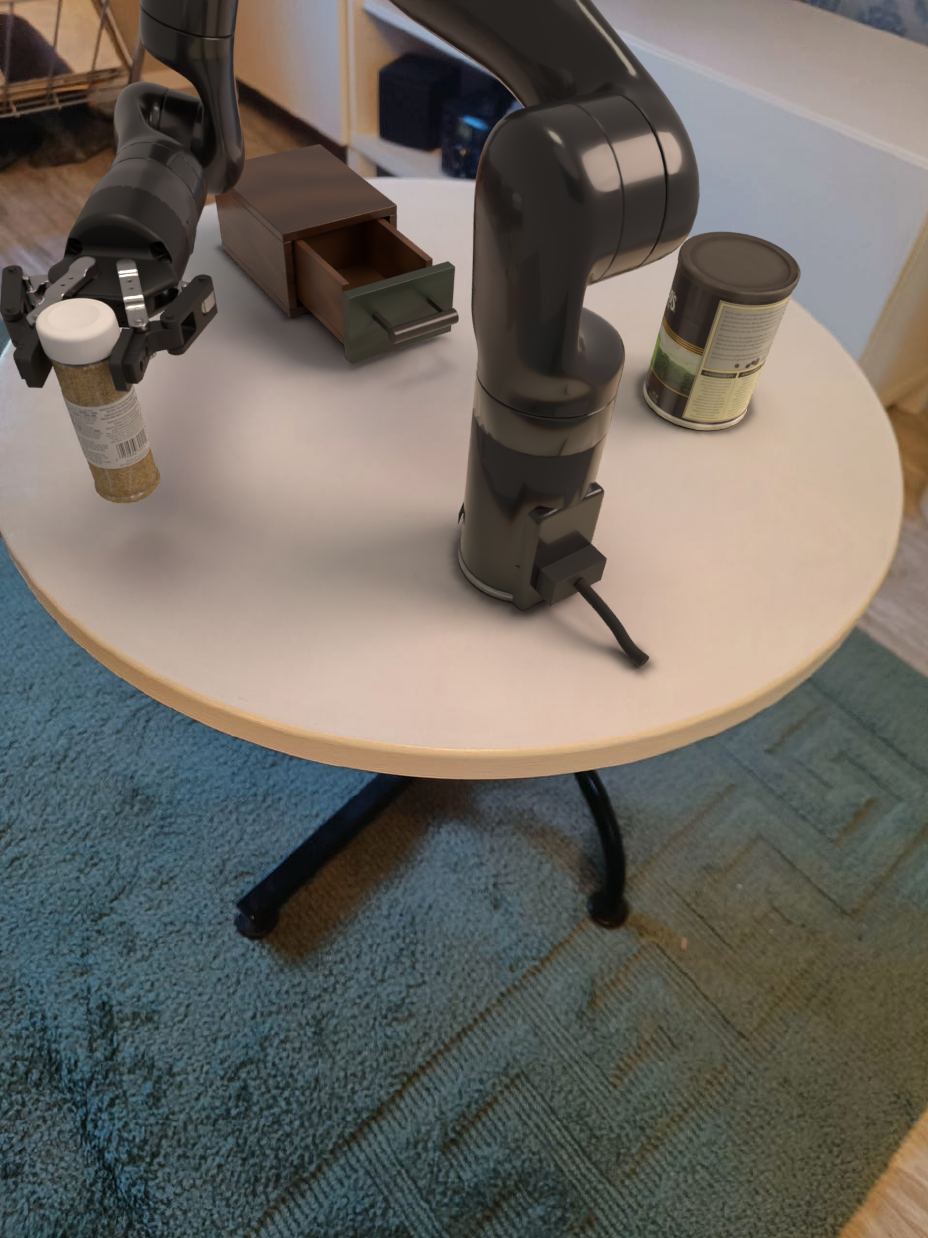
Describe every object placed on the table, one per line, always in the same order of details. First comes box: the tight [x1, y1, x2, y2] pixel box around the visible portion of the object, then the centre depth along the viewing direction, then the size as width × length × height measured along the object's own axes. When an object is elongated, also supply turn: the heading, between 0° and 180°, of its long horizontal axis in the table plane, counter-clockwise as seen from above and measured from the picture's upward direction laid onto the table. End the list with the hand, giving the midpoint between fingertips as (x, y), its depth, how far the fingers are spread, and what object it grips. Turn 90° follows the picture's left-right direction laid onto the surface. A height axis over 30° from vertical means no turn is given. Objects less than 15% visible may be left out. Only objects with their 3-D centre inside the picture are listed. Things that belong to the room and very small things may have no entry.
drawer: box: [291, 218, 460, 365], centre depth 85 cm, size 19×12×7 cm, turn 35°
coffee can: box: [642, 231, 802, 431], centre depth 79 cm, size 10×10×14 cm
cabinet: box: [214, 143, 398, 319], centre depth 91 cm, size 16×13×9 cm
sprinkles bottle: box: [36, 298, 161, 504], centre depth 57 cm, size 5×5×14 cm
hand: (74, 376), depth 52 cm, fingers closed on sprinkles bottle, 4 cm apart
